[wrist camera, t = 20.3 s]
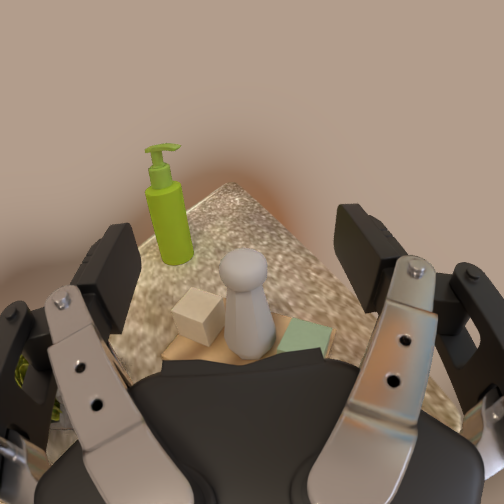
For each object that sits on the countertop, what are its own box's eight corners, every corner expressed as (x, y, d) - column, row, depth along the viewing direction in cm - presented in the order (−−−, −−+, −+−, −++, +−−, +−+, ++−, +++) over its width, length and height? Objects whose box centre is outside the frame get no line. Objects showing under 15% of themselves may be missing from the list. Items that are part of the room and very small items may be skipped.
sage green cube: (276, 371, 29) (276, 348, 27) (290, 342, 32) (292, 317, 30) (315, 383, 28) (320, 361, 25) (326, 352, 31) (332, 327, 28)
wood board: (163, 359, 32) (160, 355, 32) (211, 298, 41) (210, 293, 40) (304, 417, 25) (305, 413, 25) (335, 334, 34) (336, 329, 33)
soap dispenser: (191, 267, 47) (168, 149, 36) (156, 263, 48) (128, 153, 37) (203, 247, 52) (186, 138, 40) (170, 245, 53) (149, 142, 42)
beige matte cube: (179, 334, 34) (170, 310, 32) (198, 311, 37) (191, 286, 35) (209, 347, 32) (202, 323, 30) (227, 321, 36) (222, 296, 33)
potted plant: (136, 379, 26) (50, 475, 13) (97, 396, 31) (33, 462, 18) (65, 289, 25) (-42, 359, 11) (43, 328, 30) (-31, 383, 17)
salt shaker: (243, 321, 36) (232, 233, 28) (284, 337, 33) (286, 247, 26) (217, 354, 32) (195, 266, 24) (261, 374, 29) (255, 287, 22)
